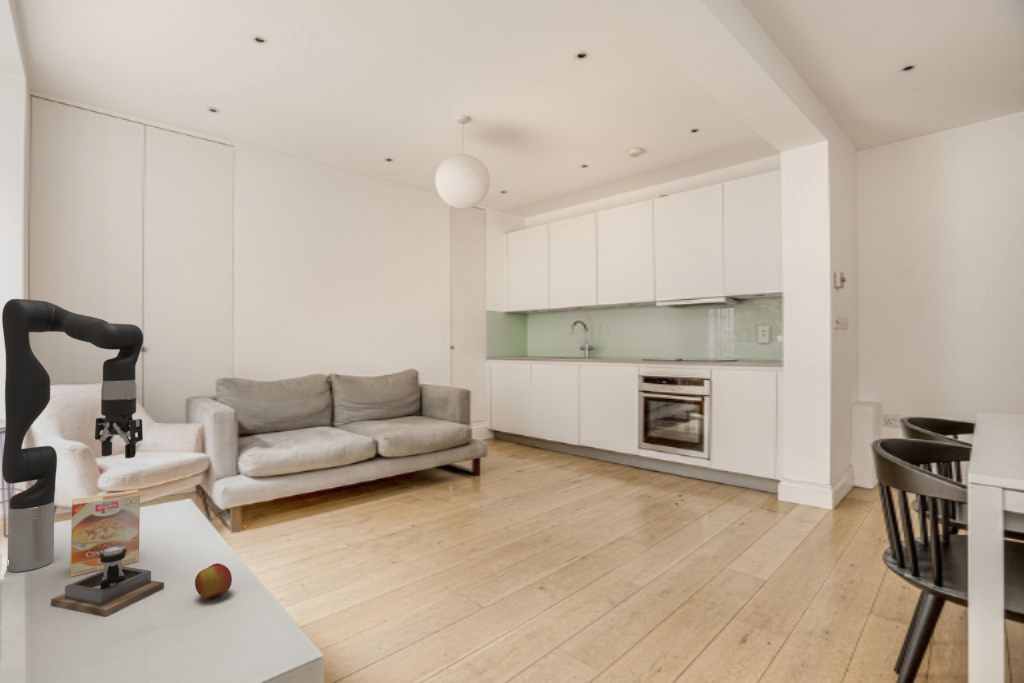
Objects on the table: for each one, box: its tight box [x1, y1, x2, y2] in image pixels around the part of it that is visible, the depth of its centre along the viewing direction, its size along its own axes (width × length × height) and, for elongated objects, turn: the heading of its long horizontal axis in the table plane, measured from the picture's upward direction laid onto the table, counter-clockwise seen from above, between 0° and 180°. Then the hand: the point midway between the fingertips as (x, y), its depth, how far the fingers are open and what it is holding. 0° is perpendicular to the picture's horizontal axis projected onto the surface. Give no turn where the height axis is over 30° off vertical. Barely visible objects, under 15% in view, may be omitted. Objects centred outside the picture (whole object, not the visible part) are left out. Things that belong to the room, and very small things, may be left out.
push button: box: [93, 546, 127, 590], centre depth 124 cm, size 7×5×10 cm
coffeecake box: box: [70, 489, 141, 578], centre depth 142 cm, size 15×7×20 cm, turn 131°
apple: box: [194, 563, 233, 599], centre depth 123 cm, size 8×8×8 cm
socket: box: [64, 565, 152, 606], centre depth 124 cm, size 12×12×3 cm
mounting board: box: [50, 579, 165, 617], centre depth 123 cm, size 18×14×2 cm
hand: (118, 456), depth 135 cm, fingers open, 8 cm apart
